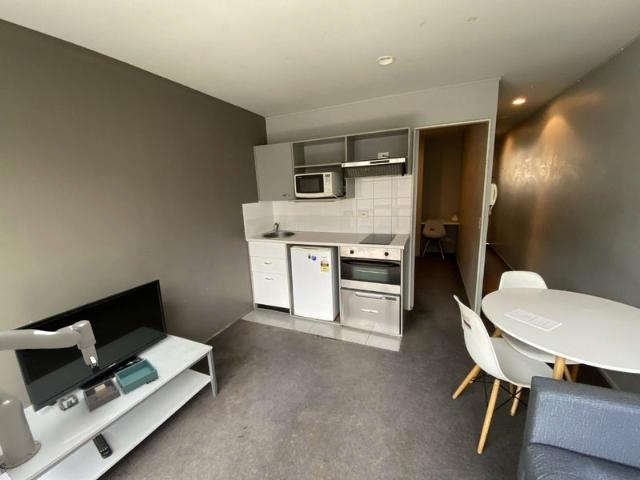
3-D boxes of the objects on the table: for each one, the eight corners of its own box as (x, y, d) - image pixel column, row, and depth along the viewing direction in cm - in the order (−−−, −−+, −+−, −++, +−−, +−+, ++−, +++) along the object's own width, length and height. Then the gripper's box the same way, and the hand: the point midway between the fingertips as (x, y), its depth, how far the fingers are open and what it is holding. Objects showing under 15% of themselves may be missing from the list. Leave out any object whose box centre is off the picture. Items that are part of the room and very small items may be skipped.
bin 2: (125, 395, 160) (123, 386, 159) (116, 382, 171) (114, 373, 170) (158, 377, 173) (156, 369, 172) (148, 366, 185) (146, 358, 183)
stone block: (98, 400, 156) (96, 391, 154) (96, 397, 159) (94, 388, 157) (108, 395, 159) (105, 387, 158) (106, 392, 162) (103, 383, 160)
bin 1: (90, 413, 149) (88, 405, 148) (84, 398, 159) (82, 391, 158) (121, 396, 159) (119, 389, 158) (113, 384, 169) (111, 377, 168)
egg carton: (59, 404, 156) (57, 398, 155) (76, 396, 162) (74, 390, 161) (63, 413, 150) (61, 407, 149) (80, 404, 155) (78, 398, 154)
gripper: (74, 340, 152) (83, 366, 157) (80, 352, 141) (89, 379, 146) (91, 333, 158) (99, 359, 162) (98, 345, 147) (106, 371, 151)
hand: (94, 368), depth 154 cm, fingers open, 9 cm apart
